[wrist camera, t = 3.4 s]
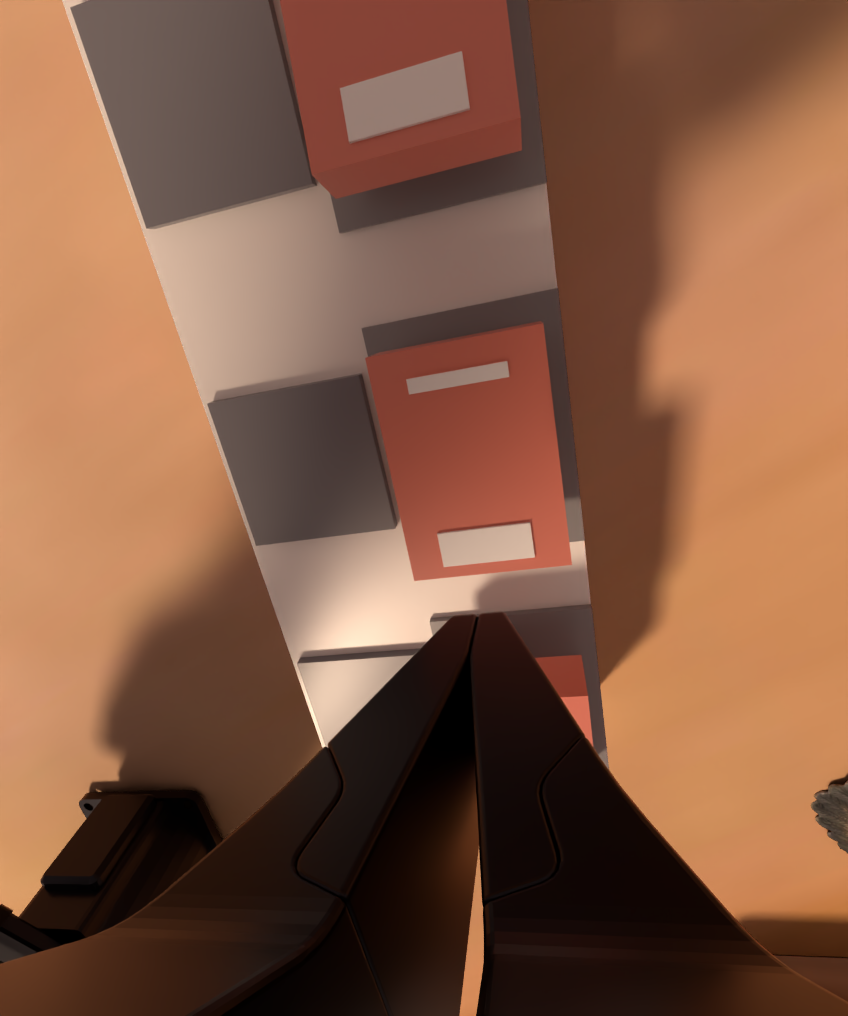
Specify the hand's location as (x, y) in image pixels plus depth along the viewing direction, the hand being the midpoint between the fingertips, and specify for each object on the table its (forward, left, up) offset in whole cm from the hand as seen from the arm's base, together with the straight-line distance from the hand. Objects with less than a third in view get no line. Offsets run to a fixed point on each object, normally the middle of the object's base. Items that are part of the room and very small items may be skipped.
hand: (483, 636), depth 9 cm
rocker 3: (+10, 0, -4) cm, 11 cm away
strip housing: (-1, +2, -10) cm, 10 cm away
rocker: (+2, 0, -4) cm, 4 cm away
